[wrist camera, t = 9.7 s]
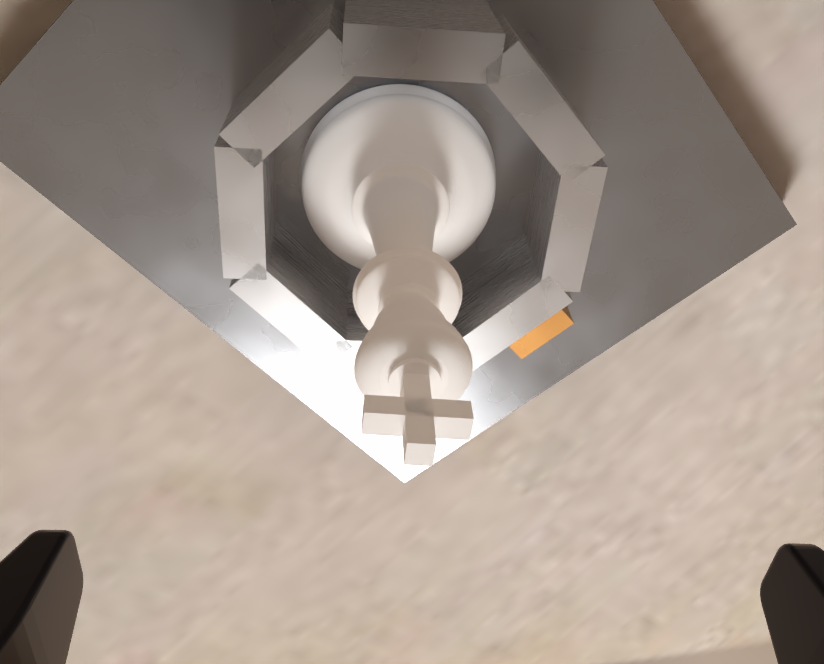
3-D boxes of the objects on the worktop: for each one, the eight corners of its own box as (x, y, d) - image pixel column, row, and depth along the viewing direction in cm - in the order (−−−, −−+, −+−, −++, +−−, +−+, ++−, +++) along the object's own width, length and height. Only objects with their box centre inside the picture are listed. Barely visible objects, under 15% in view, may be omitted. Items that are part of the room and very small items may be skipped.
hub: (-22, 116, 19) (-91, 171, 16) (403, -374, 15) (413, -416, 12) (403, 461, 27) (407, 542, 24) (780, 208, 22) (843, 270, 19)
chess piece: (303, 73, 18) (249, 301, 10) (511, 94, 19) (626, 328, 10) (297, 259, 21) (251, 559, 13) (478, 273, 21) (548, 570, 13)
